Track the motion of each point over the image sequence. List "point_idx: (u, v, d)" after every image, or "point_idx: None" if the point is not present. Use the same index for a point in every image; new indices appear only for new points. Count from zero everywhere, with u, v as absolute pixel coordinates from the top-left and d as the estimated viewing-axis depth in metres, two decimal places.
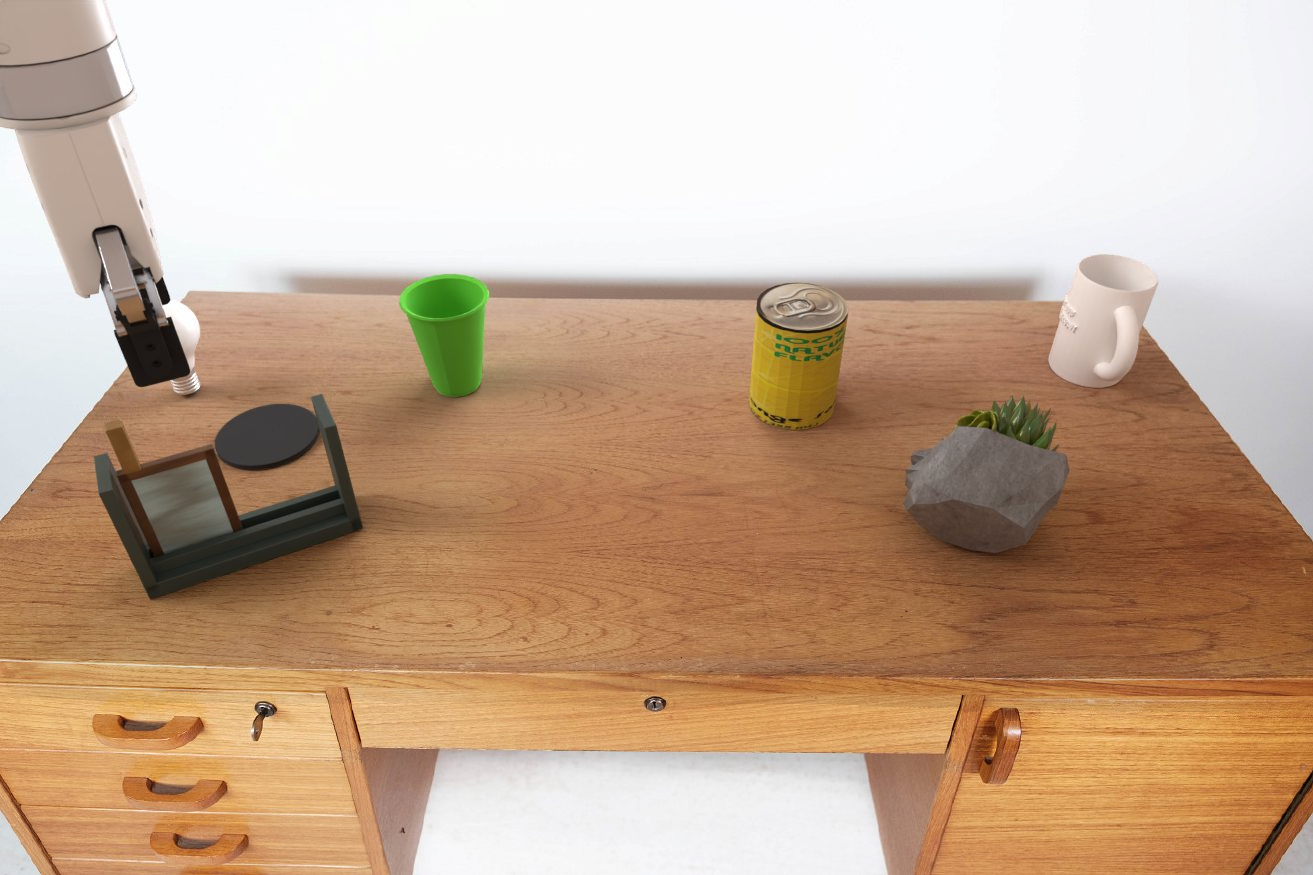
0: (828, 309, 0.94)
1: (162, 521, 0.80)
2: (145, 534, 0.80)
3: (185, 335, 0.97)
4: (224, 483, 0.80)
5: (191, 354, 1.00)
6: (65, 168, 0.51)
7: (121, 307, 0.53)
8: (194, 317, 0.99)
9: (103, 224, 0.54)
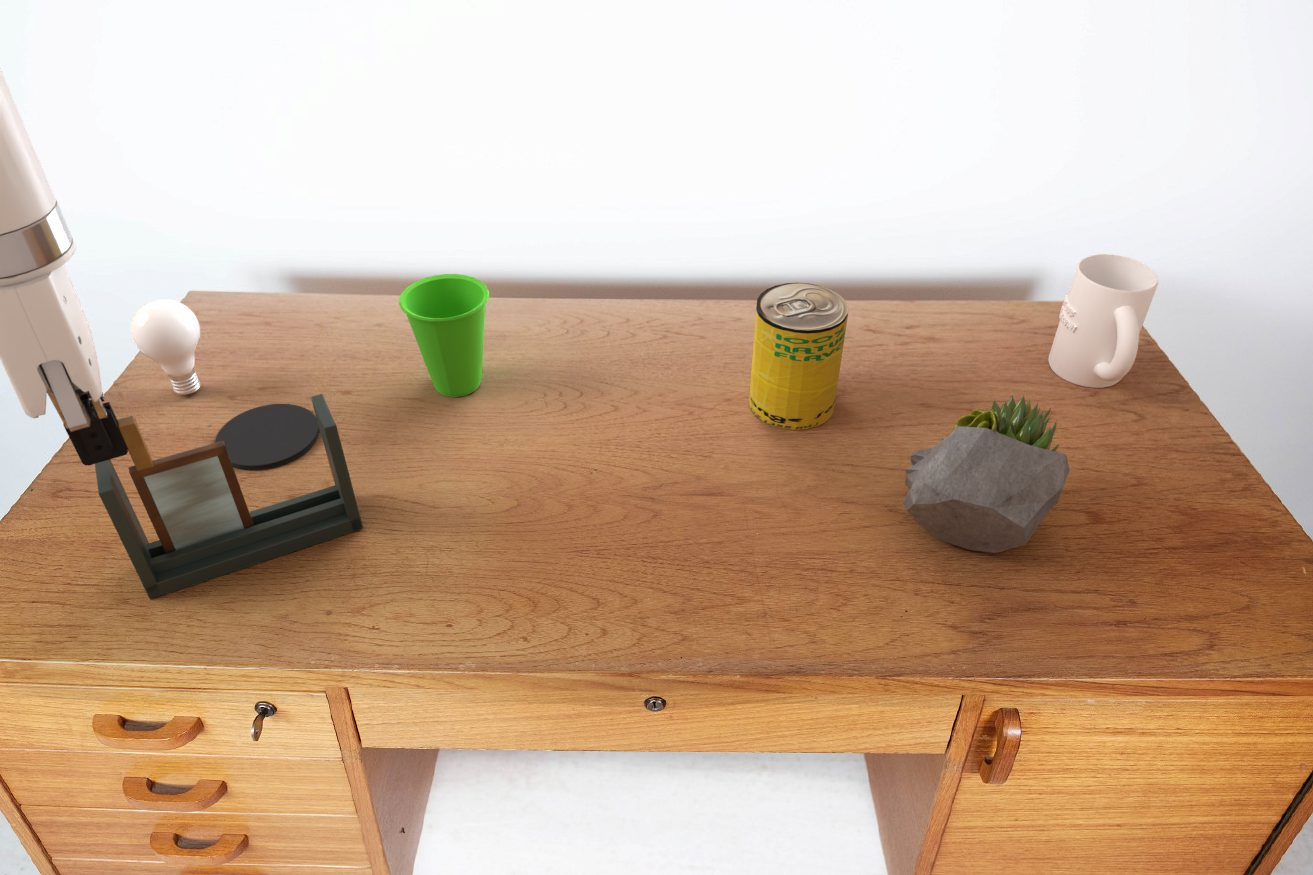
0: (828, 309, 0.94)
1: (174, 517, 0.80)
2: (157, 530, 0.80)
3: (185, 335, 0.97)
4: (235, 480, 0.81)
5: (191, 354, 1.00)
6: (13, 318, 0.61)
7: None
8: (194, 317, 0.99)
9: (47, 360, 0.64)
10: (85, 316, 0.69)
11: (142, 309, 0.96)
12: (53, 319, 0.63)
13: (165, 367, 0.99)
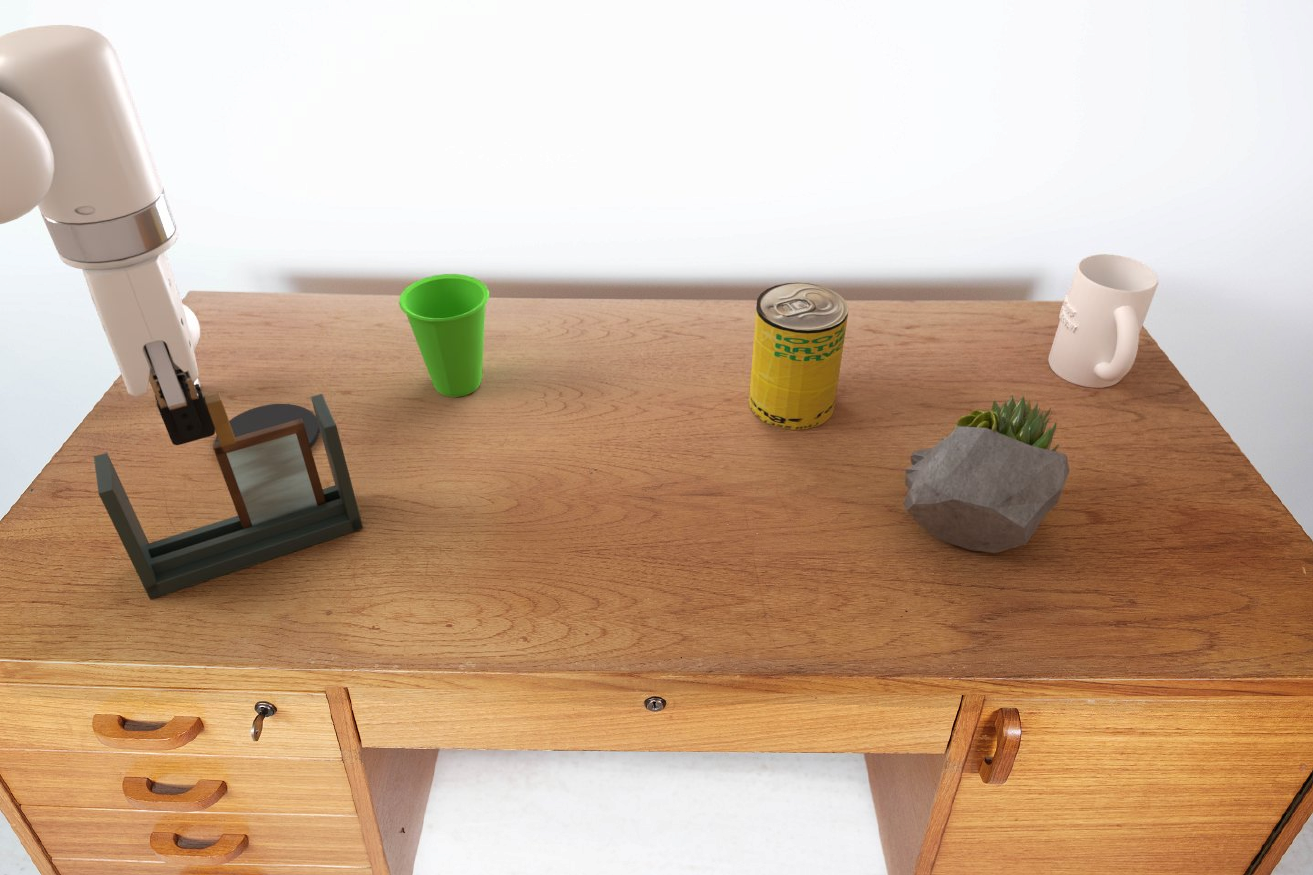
0: (828, 309, 0.94)
1: (252, 493, 0.82)
2: (236, 506, 0.82)
3: None
4: (311, 457, 0.83)
5: None
6: (123, 299, 0.64)
7: None
8: (194, 317, 0.99)
9: (152, 340, 0.66)
10: None
11: None
12: (160, 301, 0.65)
13: None
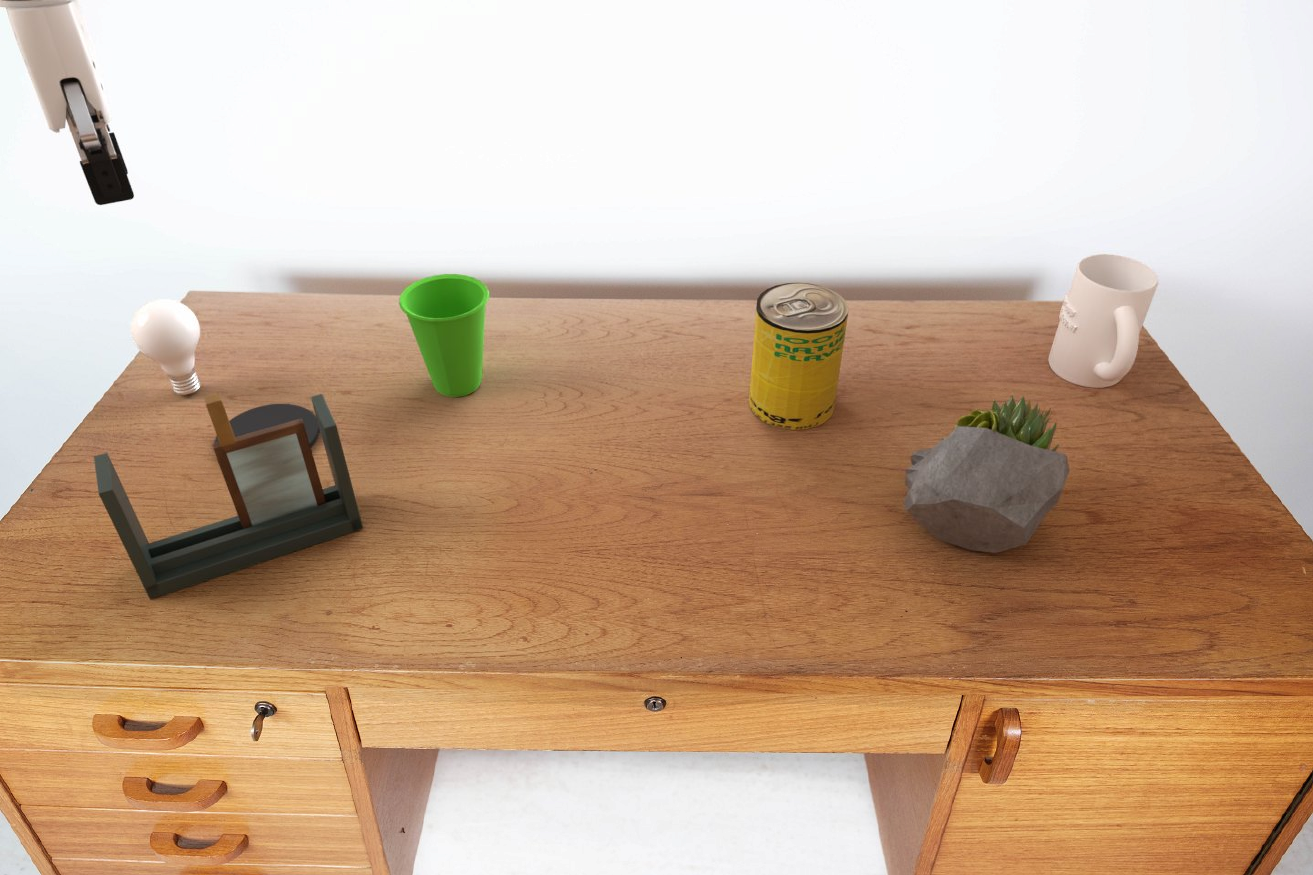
0: (828, 309, 0.94)
1: (252, 493, 0.82)
2: (236, 506, 0.82)
3: (185, 335, 0.97)
4: (311, 457, 0.83)
5: (191, 354, 1.00)
6: (40, 34, 0.76)
7: (86, 146, 0.80)
8: (194, 317, 0.99)
9: (67, 77, 0.78)
10: None
11: (142, 309, 0.96)
12: (73, 40, 0.77)
13: (165, 367, 0.99)
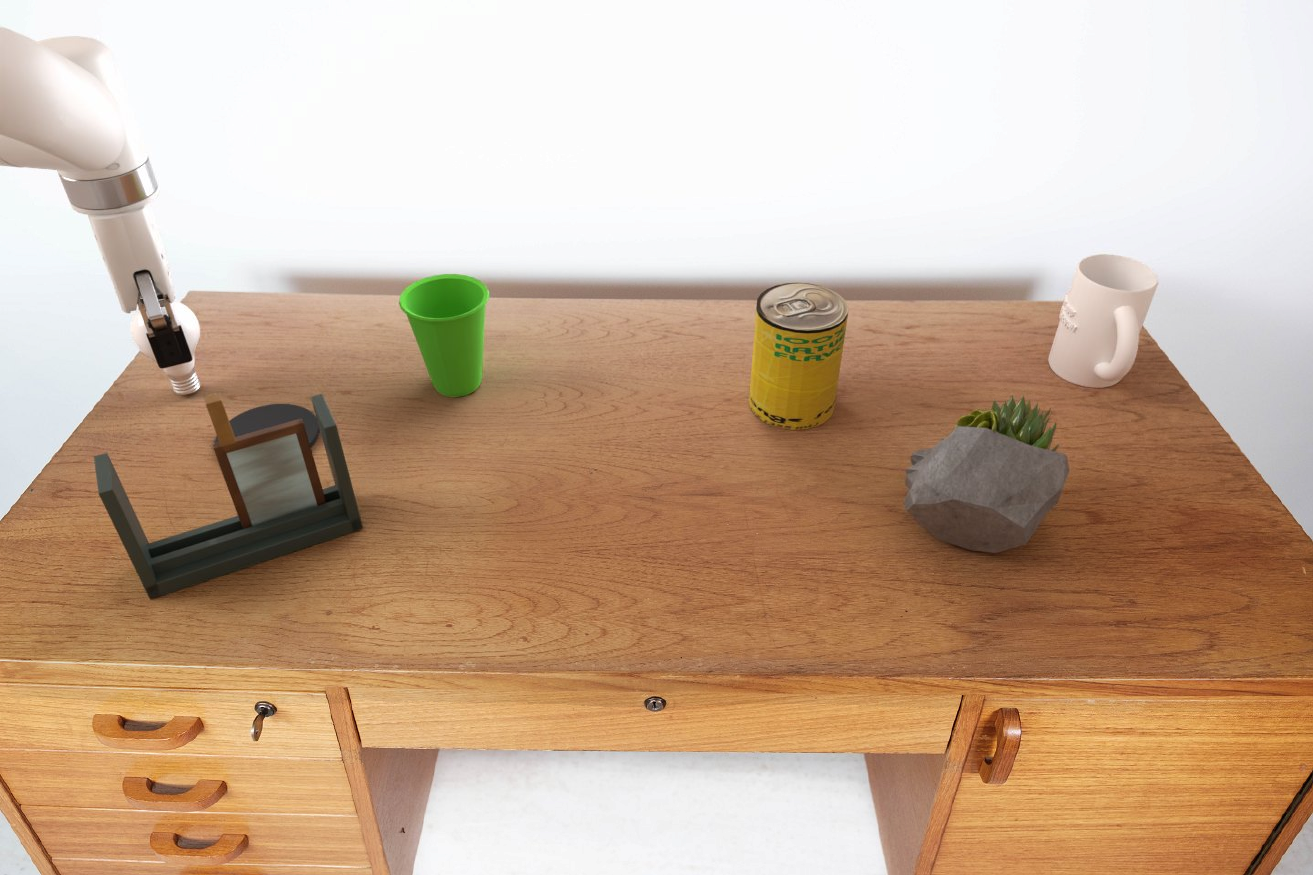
0: (828, 309, 0.94)
1: (252, 493, 0.82)
2: (236, 506, 0.82)
3: (185, 335, 0.97)
4: (311, 457, 0.83)
5: (191, 354, 1.00)
6: (118, 237, 0.87)
7: (153, 324, 0.90)
8: (194, 317, 0.99)
9: (140, 269, 0.89)
10: None
11: None
12: (145, 239, 0.88)
13: None
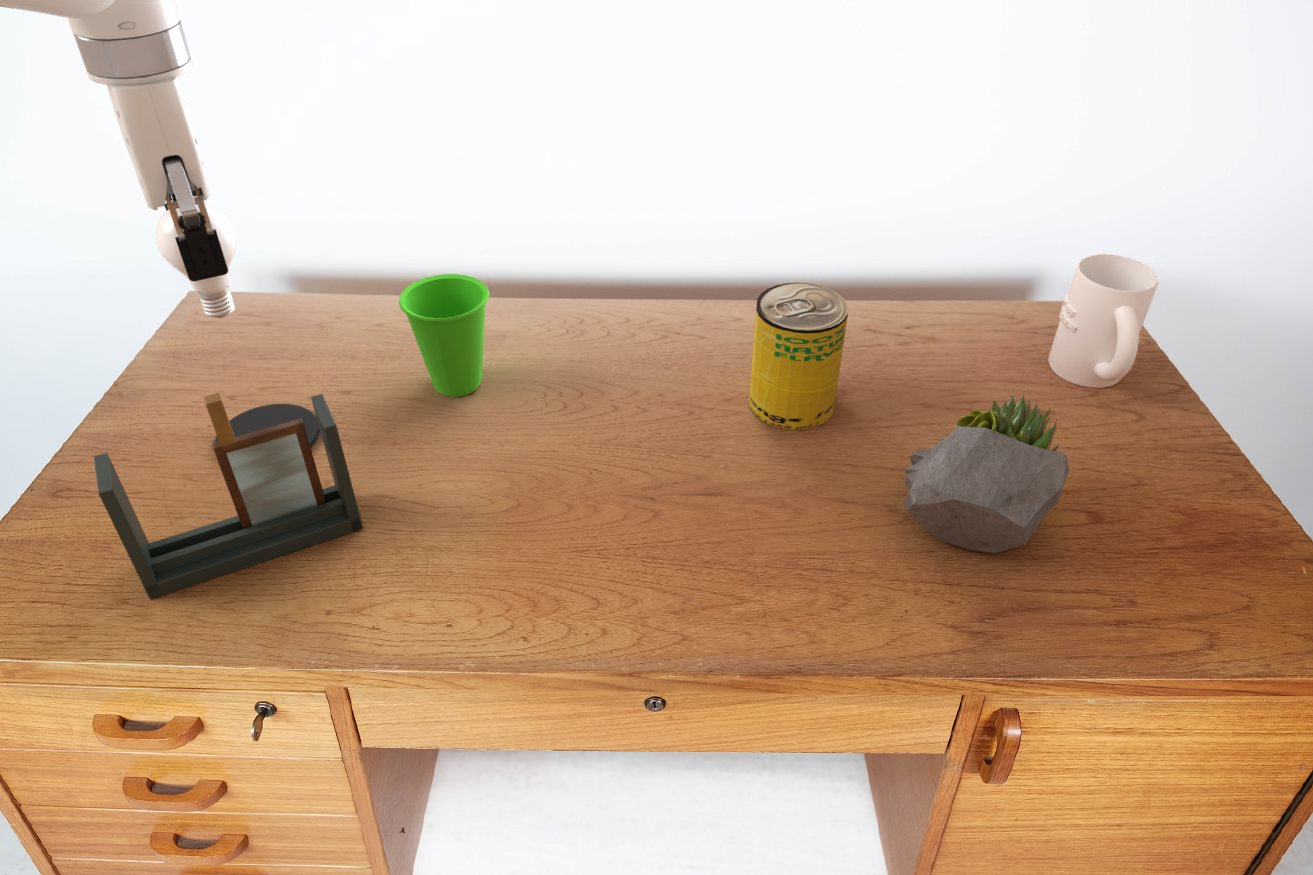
0: (828, 309, 0.94)
1: (252, 493, 0.82)
2: (236, 506, 0.82)
3: (220, 242, 0.83)
4: (311, 457, 0.83)
5: None
6: (145, 113, 0.73)
7: (185, 222, 0.76)
8: (230, 223, 0.84)
9: (170, 154, 0.75)
10: None
11: None
12: (177, 117, 0.74)
13: (196, 282, 0.85)
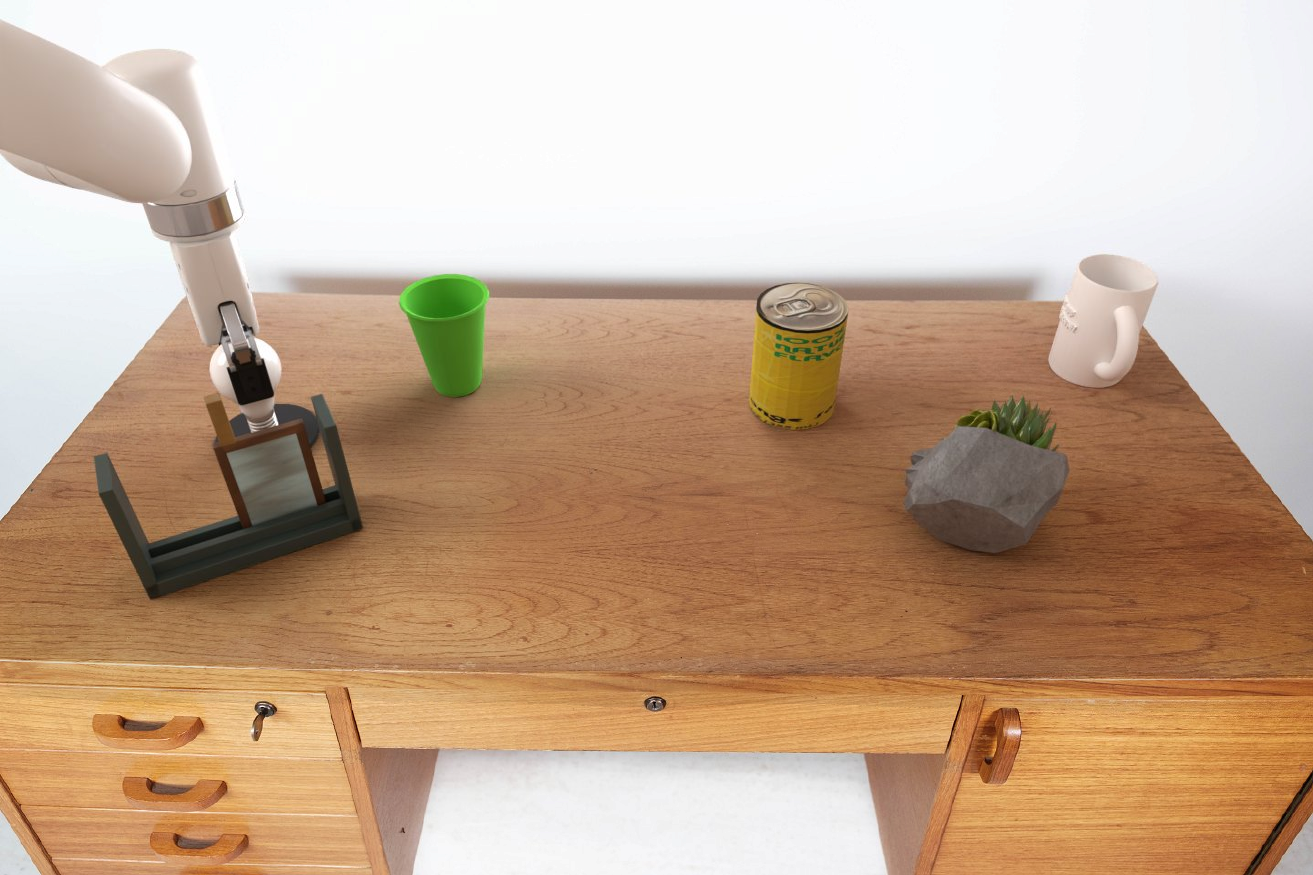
0: (828, 309, 0.94)
1: (252, 493, 0.82)
2: (236, 506, 0.82)
3: None
4: (311, 457, 0.83)
5: None
6: (204, 266, 0.80)
7: (237, 354, 0.82)
8: (276, 355, 0.92)
9: (225, 300, 0.82)
10: None
11: None
12: (232, 268, 0.81)
13: (245, 408, 0.93)
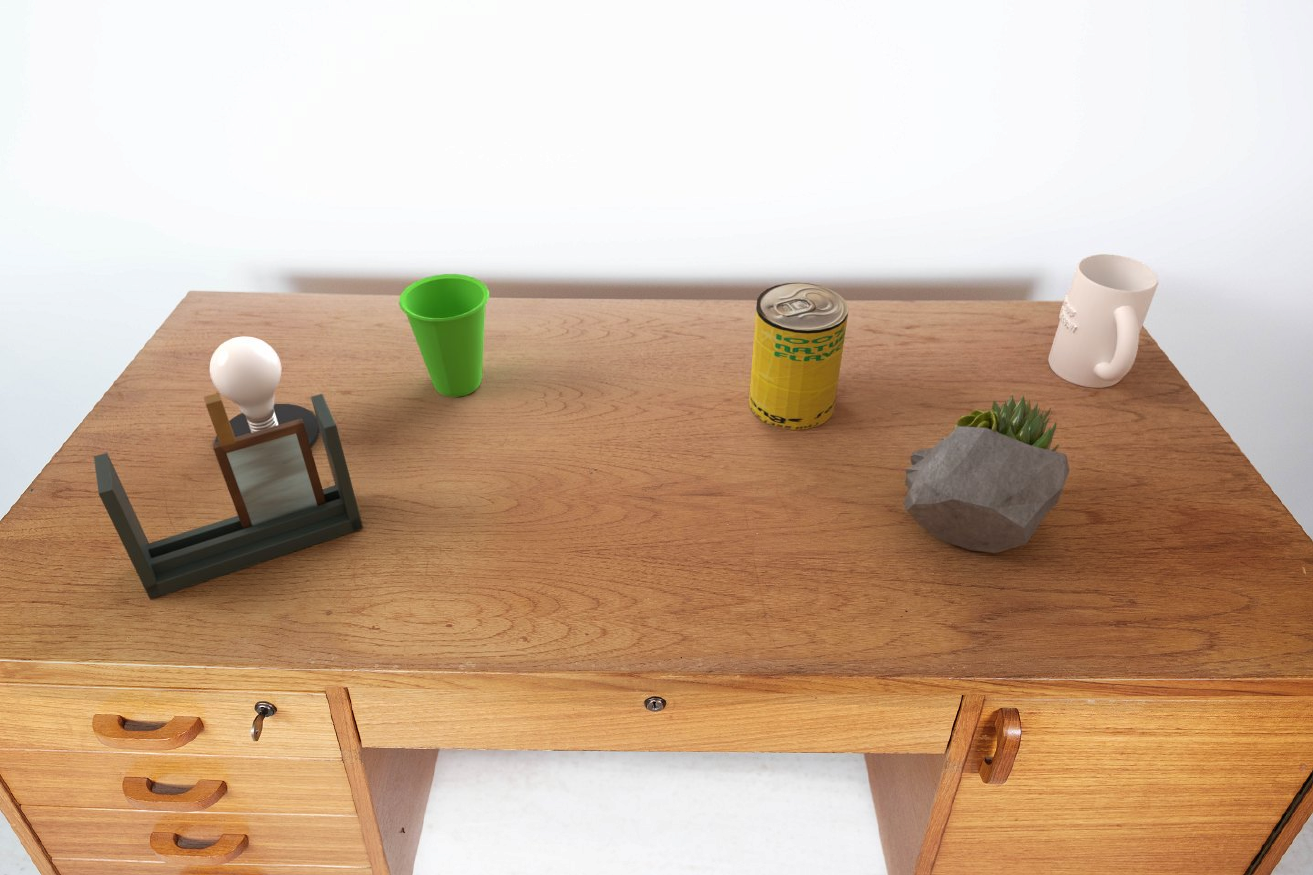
0: (828, 309, 0.94)
1: (252, 493, 0.82)
2: (236, 506, 0.82)
3: (268, 375, 0.91)
4: (311, 457, 0.83)
5: (272, 395, 0.93)
6: None
7: None
8: (276, 355, 0.92)
9: None
10: None
11: (223, 348, 0.90)
12: None
13: (245, 408, 0.93)
